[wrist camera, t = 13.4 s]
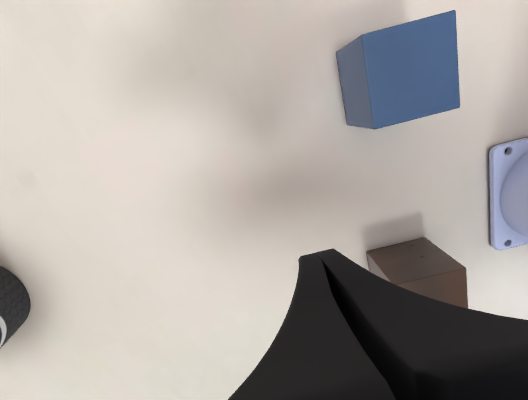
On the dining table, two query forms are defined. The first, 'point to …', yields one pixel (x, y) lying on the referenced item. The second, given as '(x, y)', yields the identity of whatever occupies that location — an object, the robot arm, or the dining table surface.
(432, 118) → the dining table surface
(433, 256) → the walnut block
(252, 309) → the dining table surface
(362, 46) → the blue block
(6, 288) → the coffee cup
